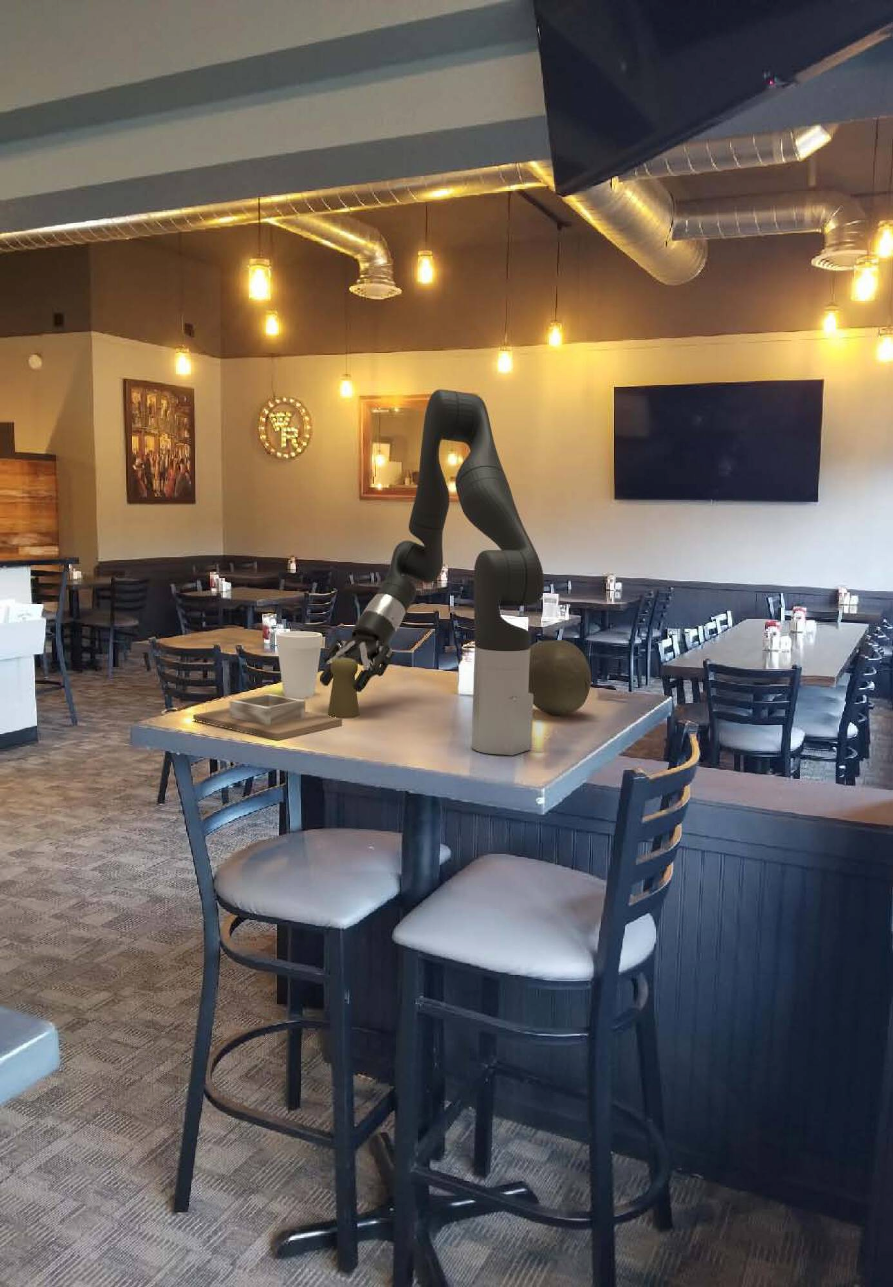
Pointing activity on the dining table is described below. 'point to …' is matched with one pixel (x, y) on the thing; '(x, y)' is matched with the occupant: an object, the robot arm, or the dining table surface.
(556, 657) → the cantaloupe
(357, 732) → the dining table surface
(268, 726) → the brown board with dish
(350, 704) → the olive pepper mill
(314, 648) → the foam cup
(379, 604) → the robot arm
